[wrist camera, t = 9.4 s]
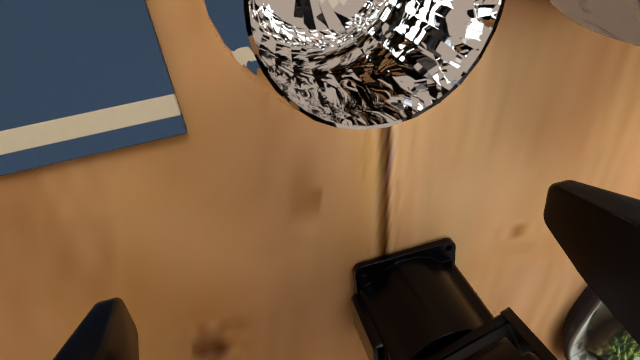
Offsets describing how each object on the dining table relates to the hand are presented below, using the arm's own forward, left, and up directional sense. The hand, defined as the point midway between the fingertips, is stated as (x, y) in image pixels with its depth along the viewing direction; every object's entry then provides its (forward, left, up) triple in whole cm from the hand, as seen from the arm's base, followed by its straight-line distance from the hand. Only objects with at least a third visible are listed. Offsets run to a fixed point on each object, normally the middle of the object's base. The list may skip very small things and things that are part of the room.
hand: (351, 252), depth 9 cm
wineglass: (-1, -5, -13) cm, 14 cm away
